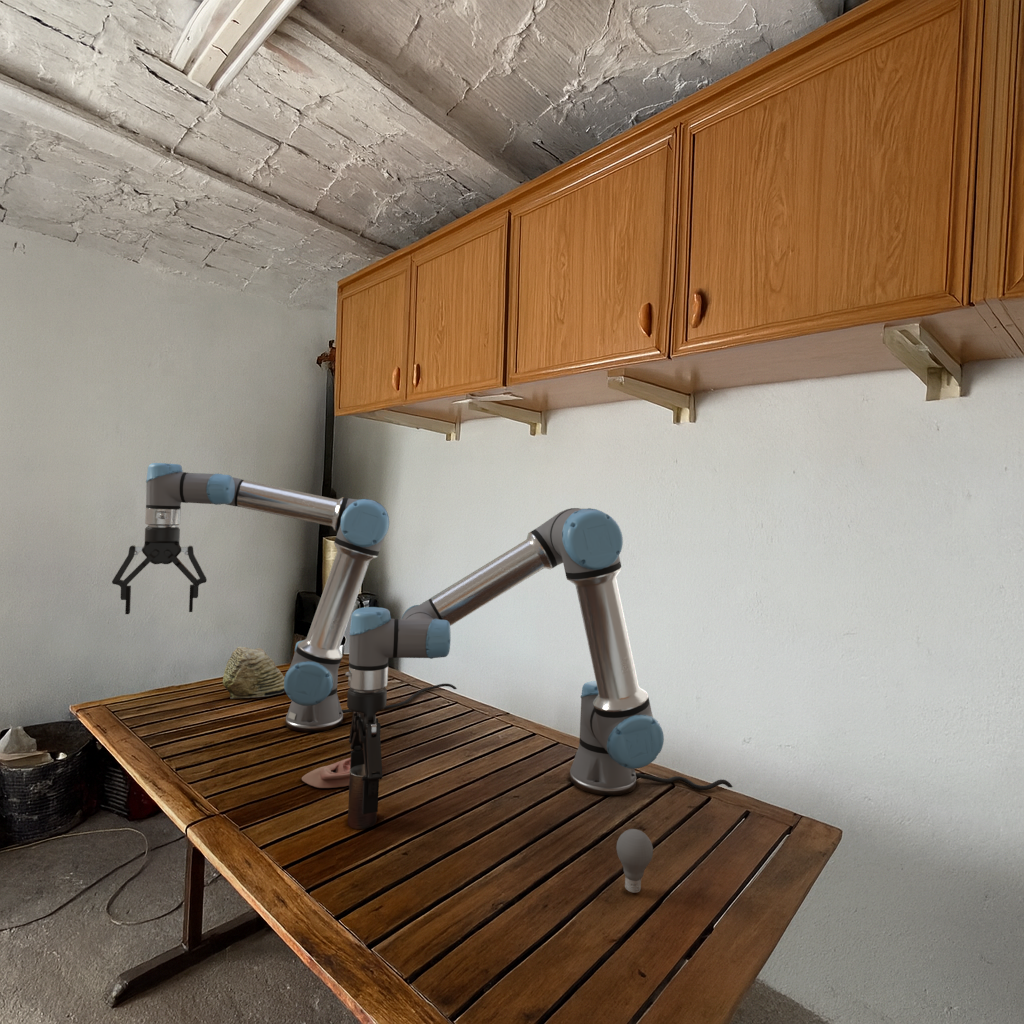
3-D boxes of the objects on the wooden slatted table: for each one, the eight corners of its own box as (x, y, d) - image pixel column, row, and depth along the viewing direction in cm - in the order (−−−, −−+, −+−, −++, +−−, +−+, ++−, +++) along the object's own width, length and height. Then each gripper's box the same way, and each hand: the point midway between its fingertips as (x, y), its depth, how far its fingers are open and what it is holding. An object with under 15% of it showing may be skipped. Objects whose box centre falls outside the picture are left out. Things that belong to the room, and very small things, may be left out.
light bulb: (610, 879, 108) (613, 822, 108) (644, 879, 109) (647, 822, 109) (619, 902, 102) (622, 840, 102) (655, 901, 103) (658, 840, 103)
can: (341, 823, 124) (343, 770, 123) (363, 812, 128) (365, 761, 128) (361, 832, 120) (363, 778, 120) (382, 820, 125) (384, 769, 125)
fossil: (218, 695, 195) (220, 647, 195) (278, 685, 208) (279, 640, 207) (228, 703, 189) (230, 653, 188) (289, 692, 201) (290, 645, 201)
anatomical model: (294, 766, 138) (320, 747, 150) (294, 784, 138) (320, 763, 150) (351, 774, 136) (373, 754, 147) (350, 792, 136) (372, 770, 147)
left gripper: (100, 525, 147) (97, 617, 147) (219, 528, 158) (216, 612, 158) (104, 524, 153) (102, 611, 154) (218, 526, 164) (215, 607, 165)
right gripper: (337, 672, 133) (333, 773, 134) (360, 709, 111) (355, 830, 111) (373, 669, 136) (369, 768, 137) (402, 705, 114) (397, 823, 115)
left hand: (159, 612), depth 156 cm, fingers open, 13 cm apart
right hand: (363, 796), depth 124 cm, fingers open, 12 cm apart
